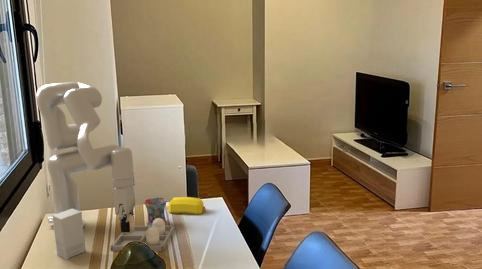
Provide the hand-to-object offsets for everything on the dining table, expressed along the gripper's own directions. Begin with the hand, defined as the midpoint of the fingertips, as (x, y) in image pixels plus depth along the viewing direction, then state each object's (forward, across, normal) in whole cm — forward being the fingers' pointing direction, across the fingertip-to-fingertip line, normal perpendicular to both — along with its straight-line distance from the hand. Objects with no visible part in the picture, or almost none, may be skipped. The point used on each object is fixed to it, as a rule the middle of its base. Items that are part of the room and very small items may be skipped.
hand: (128, 228), depth 172 cm
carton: (+7, -5, +4) cm, 10 cm away
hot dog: (+7, -36, +15) cm, 40 cm away
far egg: (+7, 0, +9) cm, 11 cm away
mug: (+7, -22, +5) cm, 24 cm away
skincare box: (+7, +6, -20) cm, 22 cm away
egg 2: (+7, -10, +9) cm, 15 cm away
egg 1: (+1, 0, 0) cm, 1 cm away
